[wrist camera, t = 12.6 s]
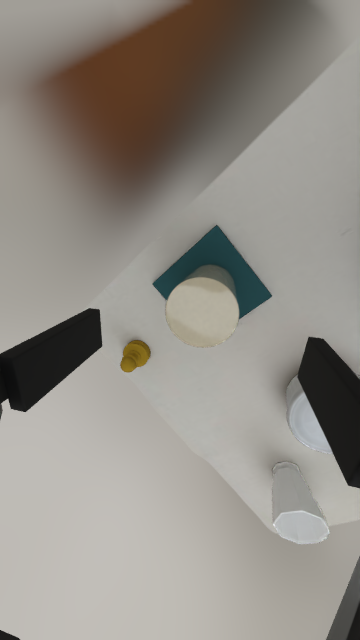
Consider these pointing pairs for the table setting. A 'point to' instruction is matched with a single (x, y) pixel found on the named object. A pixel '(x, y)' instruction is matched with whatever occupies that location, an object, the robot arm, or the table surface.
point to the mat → (222, 254)
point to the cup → (296, 507)
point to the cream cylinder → (204, 307)
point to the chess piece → (134, 355)
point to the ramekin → (304, 419)
